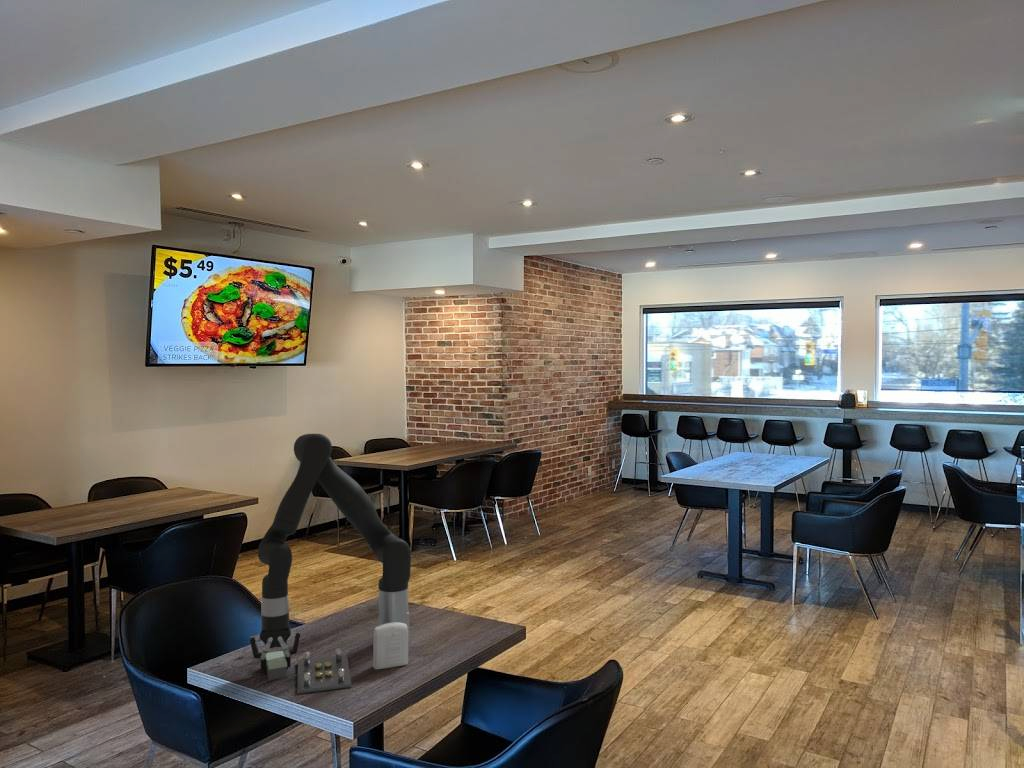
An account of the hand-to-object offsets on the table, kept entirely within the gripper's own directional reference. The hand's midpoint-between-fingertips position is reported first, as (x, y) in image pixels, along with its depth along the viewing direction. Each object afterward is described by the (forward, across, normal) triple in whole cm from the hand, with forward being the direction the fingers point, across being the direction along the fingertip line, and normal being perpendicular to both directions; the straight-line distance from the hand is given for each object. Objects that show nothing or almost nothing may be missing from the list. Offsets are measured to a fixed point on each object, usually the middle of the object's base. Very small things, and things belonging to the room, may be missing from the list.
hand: (275, 669), depth 205 cm
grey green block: (+1, 0, 0) cm, 1 cm away
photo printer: (+1, -32, +5) cm, 32 cm away
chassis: (+1, -13, +6) cm, 14 cm away
